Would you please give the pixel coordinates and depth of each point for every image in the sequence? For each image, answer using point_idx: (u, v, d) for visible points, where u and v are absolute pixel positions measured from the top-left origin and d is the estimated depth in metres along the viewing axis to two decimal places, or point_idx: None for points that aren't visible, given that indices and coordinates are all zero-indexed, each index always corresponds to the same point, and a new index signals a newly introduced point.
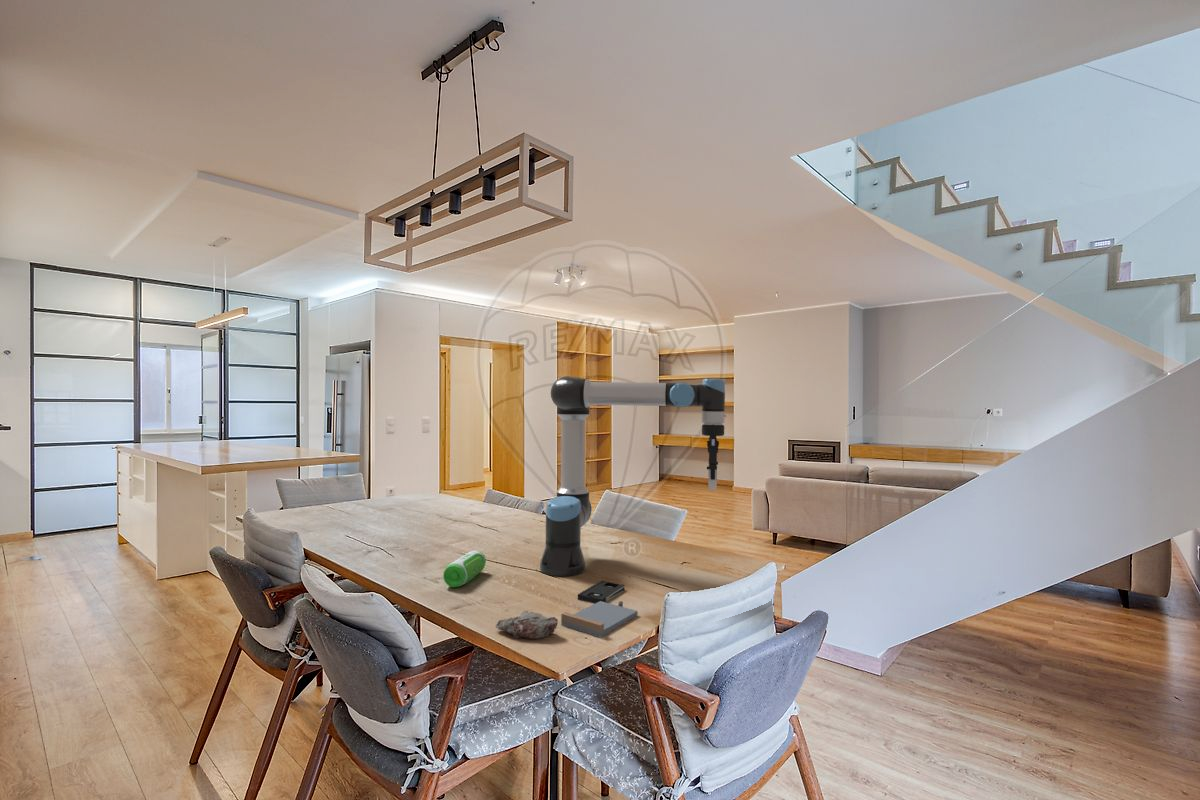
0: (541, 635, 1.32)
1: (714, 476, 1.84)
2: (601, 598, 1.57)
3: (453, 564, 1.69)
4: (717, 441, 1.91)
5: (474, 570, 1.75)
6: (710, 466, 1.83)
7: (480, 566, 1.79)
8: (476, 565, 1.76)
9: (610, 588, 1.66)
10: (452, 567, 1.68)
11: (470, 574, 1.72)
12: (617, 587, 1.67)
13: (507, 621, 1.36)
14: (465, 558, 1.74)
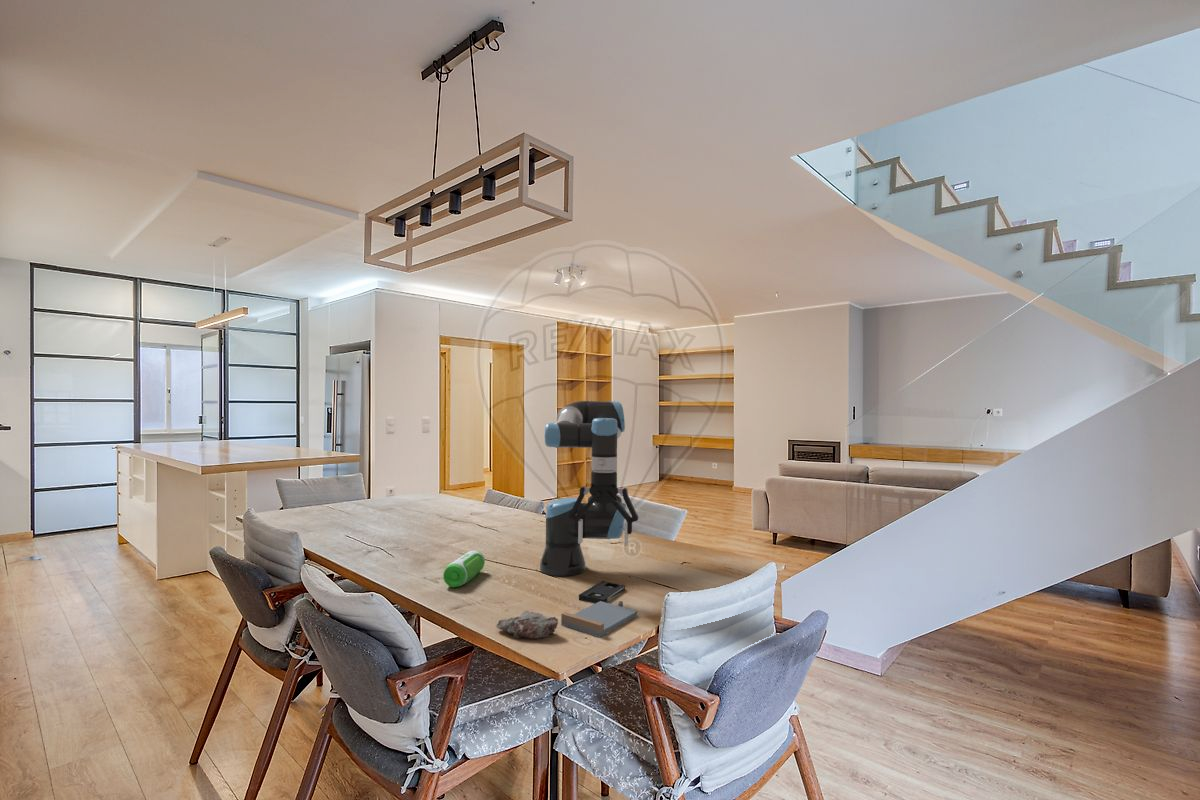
0: (541, 635, 1.32)
1: (575, 527, 1.66)
2: (602, 598, 1.57)
3: (453, 564, 1.69)
4: (598, 491, 1.63)
5: (474, 570, 1.75)
6: None
7: (479, 566, 1.79)
8: (475, 565, 1.77)
9: (611, 588, 1.65)
10: (452, 567, 1.68)
11: (470, 574, 1.72)
12: (618, 587, 1.67)
13: (507, 621, 1.36)
14: (465, 558, 1.75)
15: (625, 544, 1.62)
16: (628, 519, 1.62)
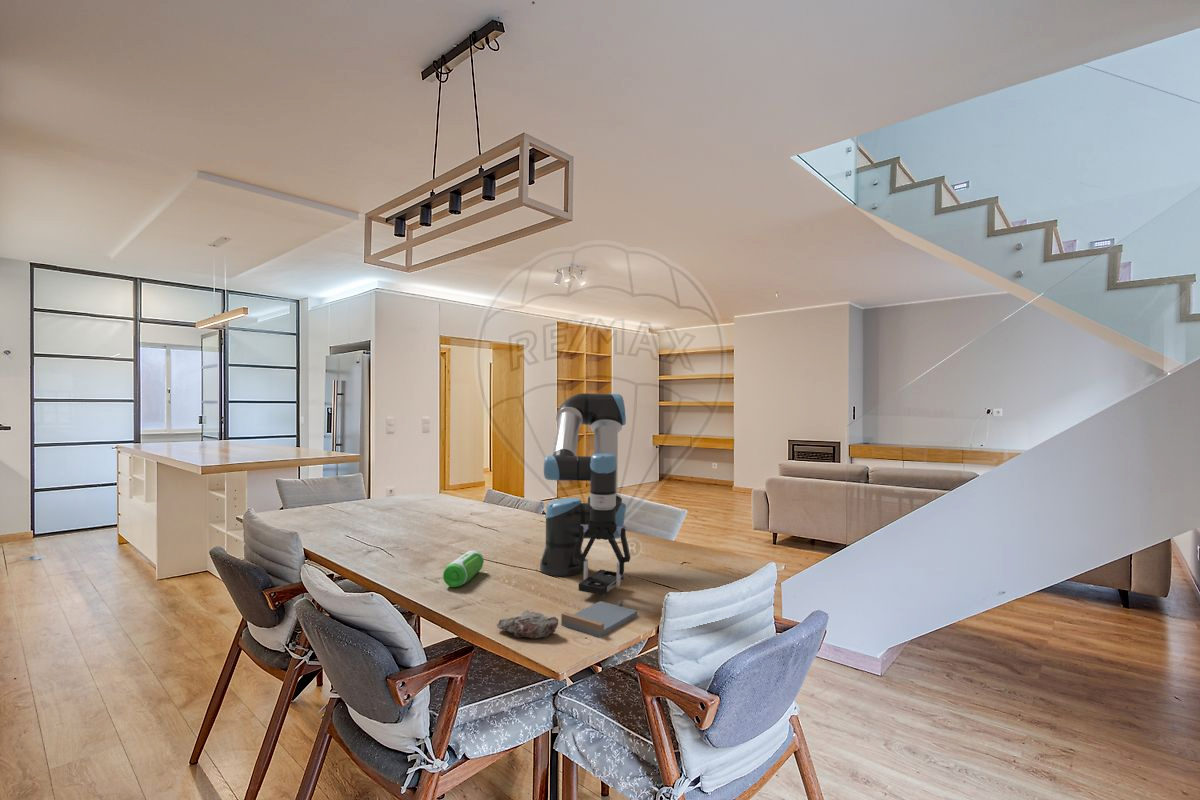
0: (541, 635, 1.32)
1: (580, 567, 1.66)
2: (602, 587, 1.58)
3: (453, 564, 1.69)
4: (596, 528, 1.64)
5: (473, 570, 1.75)
6: None
7: (478, 566, 1.79)
8: (475, 564, 1.77)
9: (609, 577, 1.66)
10: (452, 567, 1.68)
11: (469, 574, 1.72)
12: None
13: (508, 621, 1.36)
14: (464, 558, 1.75)
15: (617, 584, 1.63)
16: (620, 559, 1.63)
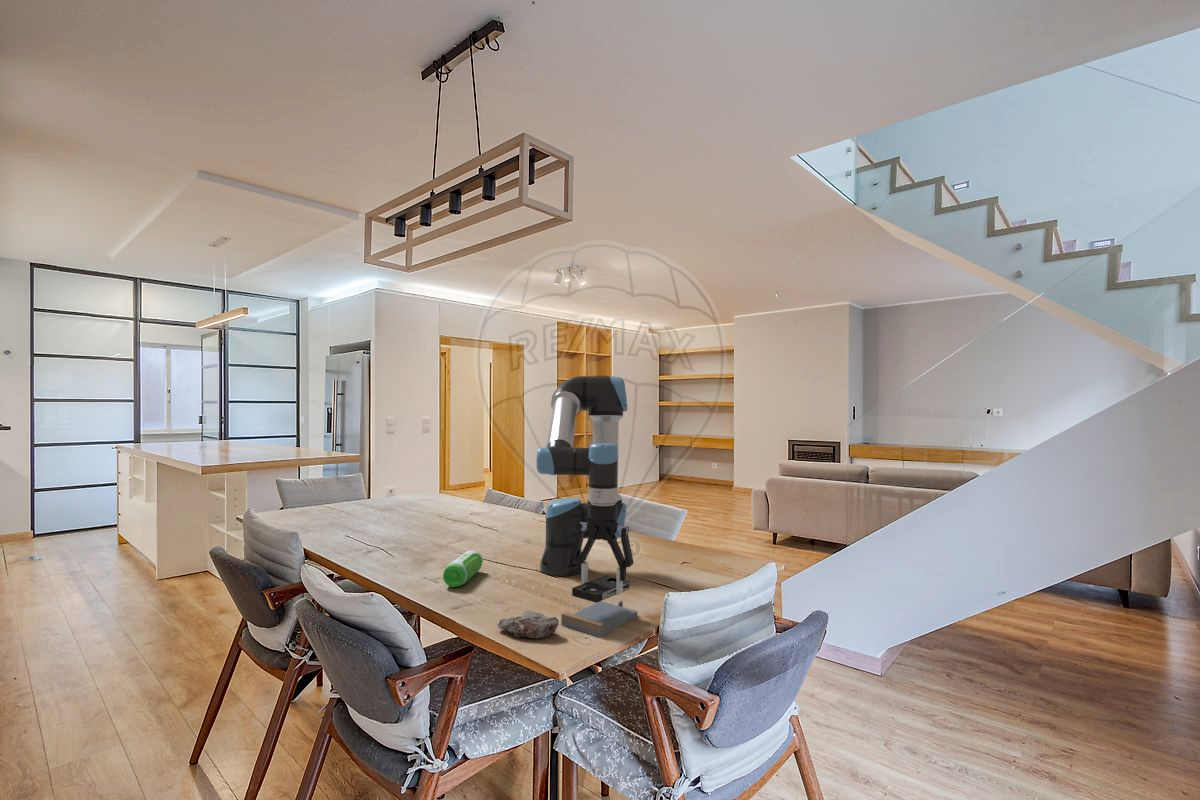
0: (542, 635, 1.32)
1: (578, 570, 1.48)
2: (596, 593, 1.39)
3: (453, 564, 1.69)
4: (594, 526, 1.45)
5: (473, 570, 1.75)
6: None
7: (477, 566, 1.79)
8: (474, 564, 1.77)
9: (611, 584, 1.46)
10: (452, 567, 1.68)
11: (469, 574, 1.72)
12: None
13: (508, 621, 1.37)
14: (464, 558, 1.75)
15: (617, 592, 1.43)
16: (621, 564, 1.43)
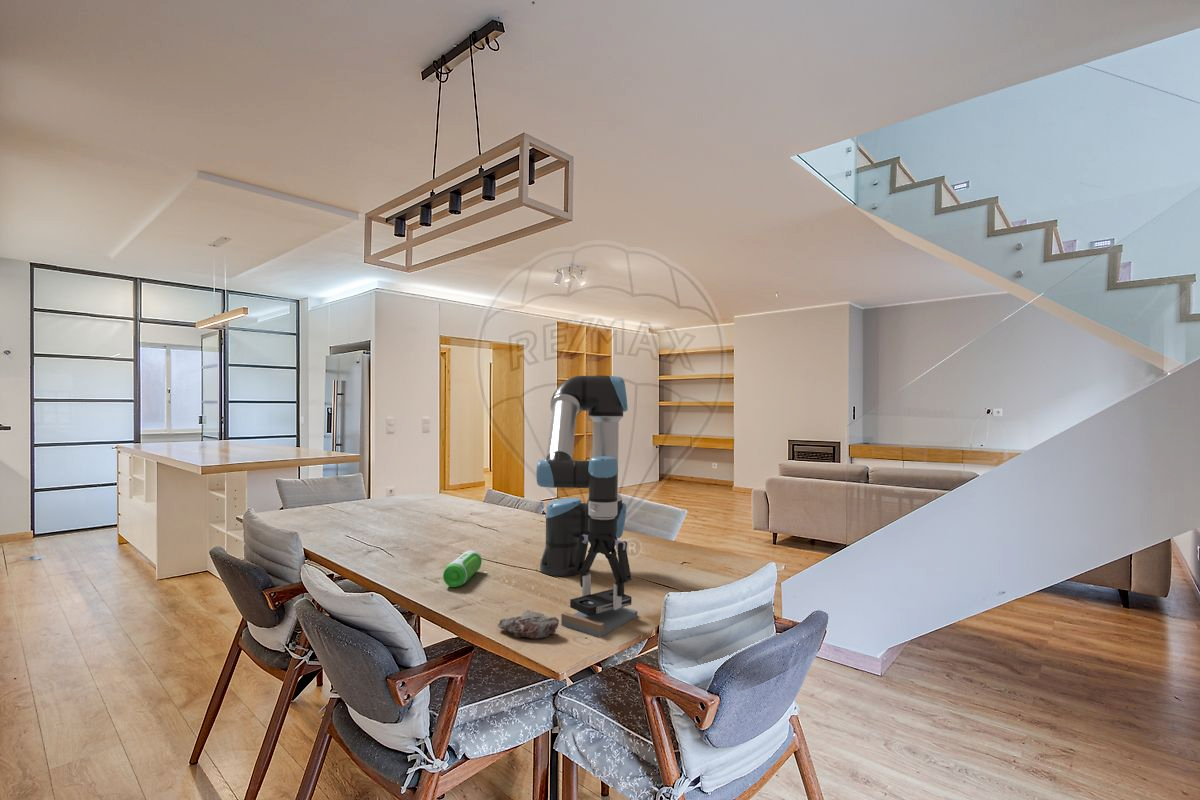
0: (542, 635, 1.32)
1: (580, 582, 1.49)
2: (590, 607, 1.39)
3: (453, 564, 1.69)
4: (594, 539, 1.45)
5: (472, 570, 1.75)
6: None
7: (477, 566, 1.79)
8: (474, 564, 1.77)
9: (611, 598, 1.46)
10: (452, 567, 1.68)
11: (469, 574, 1.72)
12: None
13: (508, 621, 1.37)
14: (463, 558, 1.75)
15: (614, 607, 1.42)
16: (617, 579, 1.41)
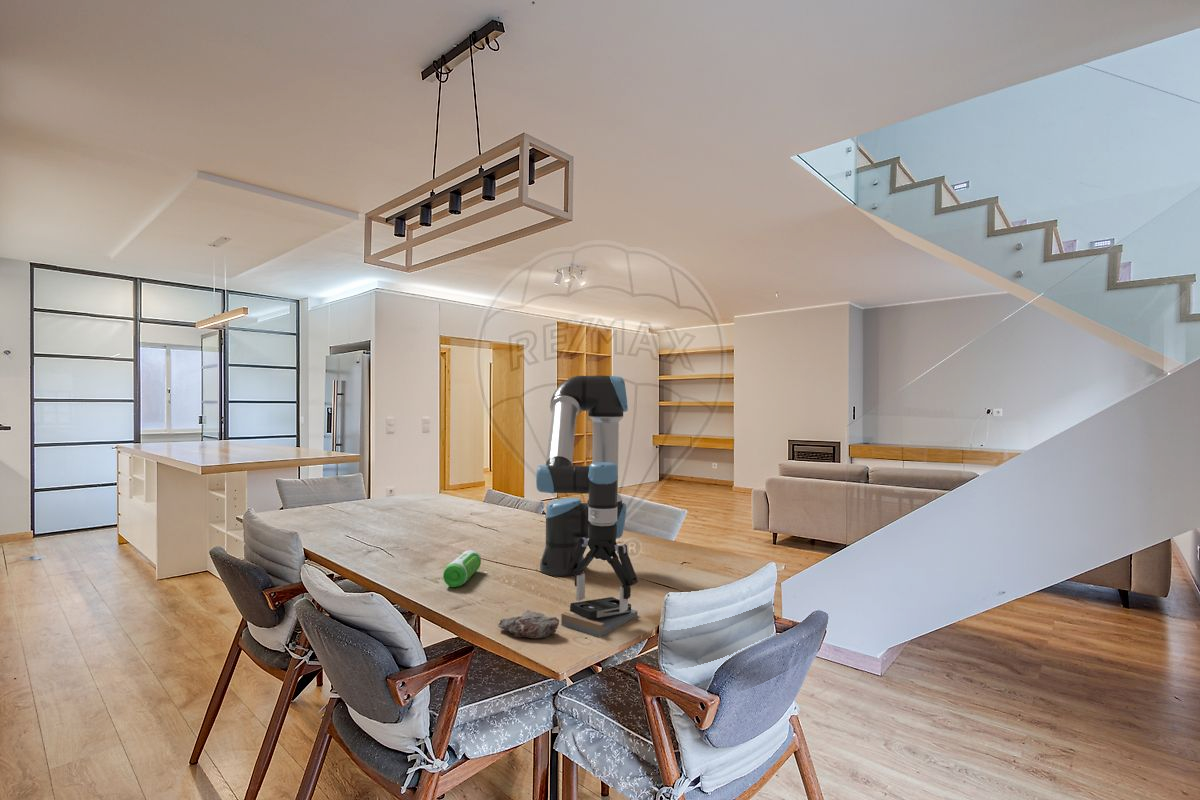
0: (542, 635, 1.32)
1: (575, 582, 1.50)
2: (590, 610, 1.39)
3: (453, 564, 1.69)
4: (594, 545, 1.45)
5: (472, 569, 1.75)
6: None
7: (476, 565, 1.79)
8: (474, 564, 1.77)
9: (611, 604, 1.46)
10: (452, 567, 1.68)
11: (469, 573, 1.72)
12: None
13: (509, 620, 1.37)
14: (463, 558, 1.75)
15: (620, 610, 1.41)
16: (623, 582, 1.40)
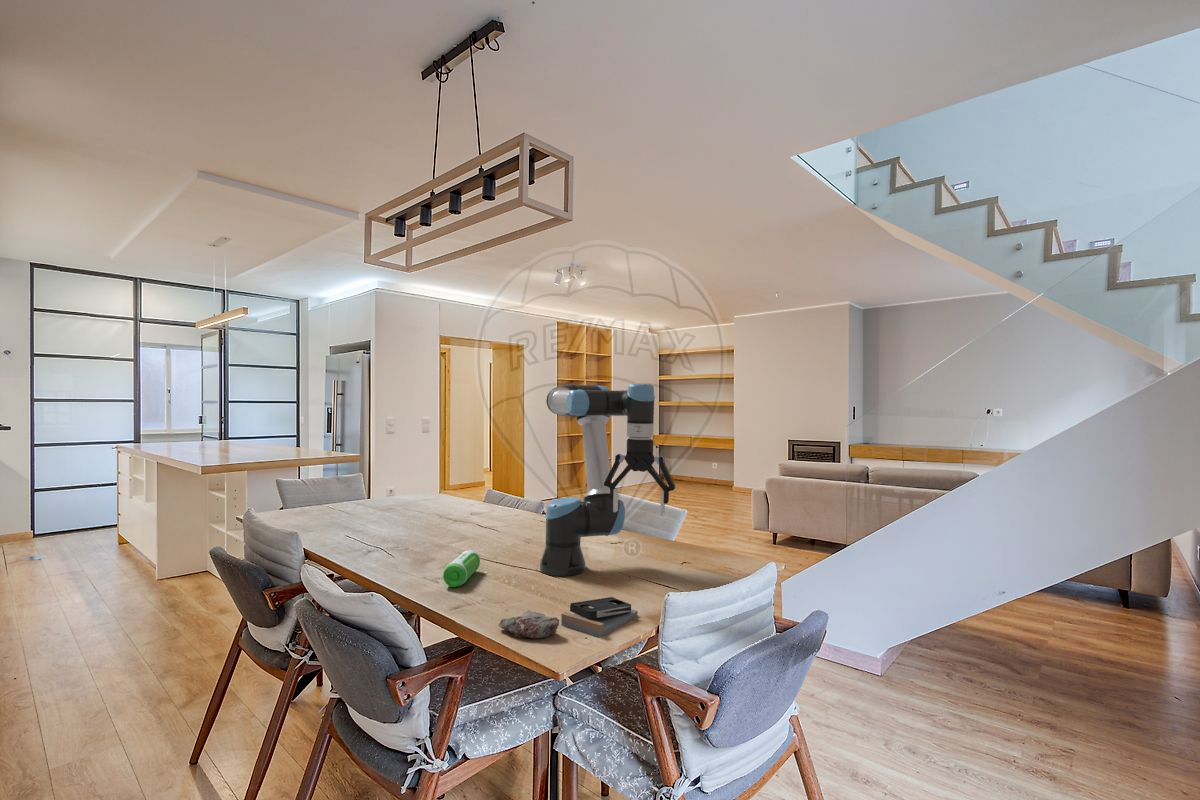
0: (542, 635, 1.32)
1: (610, 495, 1.62)
2: (590, 610, 1.39)
3: (453, 564, 1.69)
4: (633, 459, 1.59)
5: (472, 569, 1.75)
6: None
7: (476, 565, 1.80)
8: (473, 564, 1.77)
9: (611, 604, 1.46)
10: (452, 567, 1.68)
11: (469, 573, 1.72)
12: (621, 605, 1.46)
13: (509, 620, 1.37)
14: (463, 558, 1.75)
15: (661, 514, 1.57)
16: (664, 488, 1.57)
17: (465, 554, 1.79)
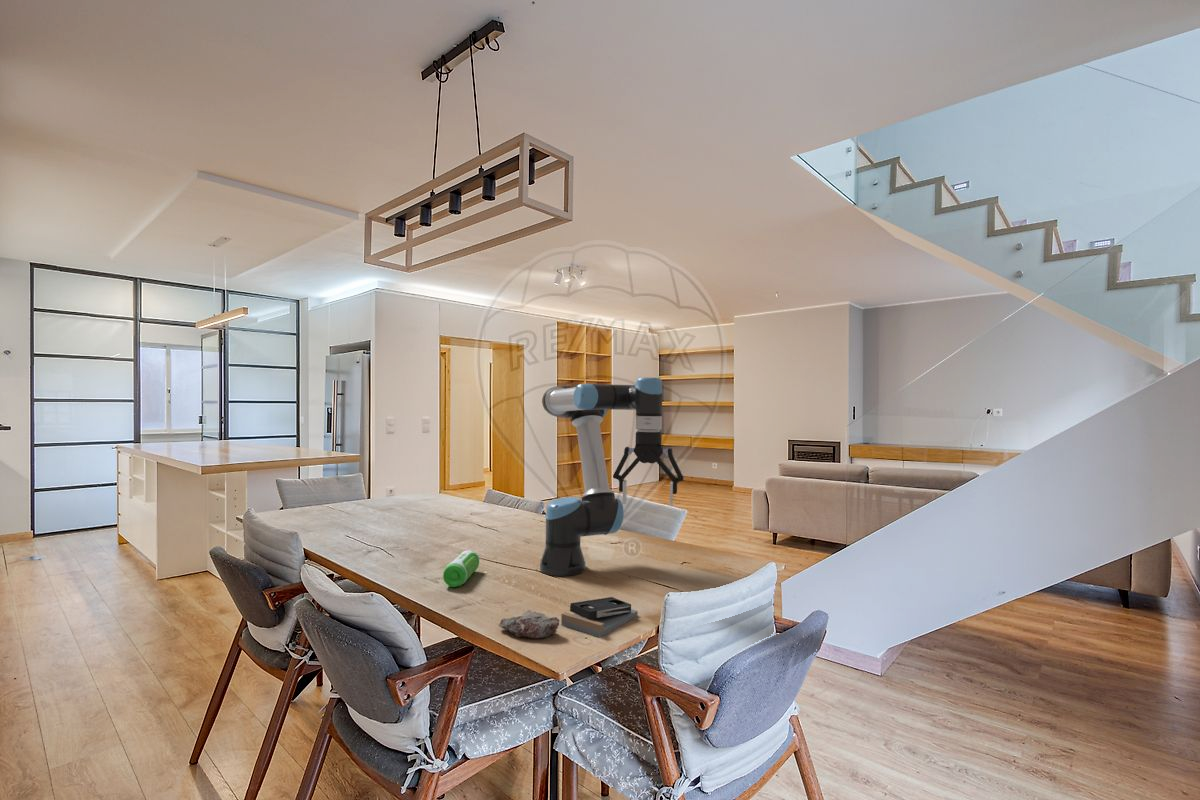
0: (542, 635, 1.32)
1: (619, 488, 1.64)
2: (590, 610, 1.39)
3: (453, 564, 1.69)
4: (643, 451, 1.62)
5: (471, 569, 1.75)
6: None
7: (475, 565, 1.80)
8: (473, 564, 1.77)
9: (611, 604, 1.46)
10: (452, 567, 1.68)
11: (469, 573, 1.73)
12: (621, 605, 1.46)
13: (509, 620, 1.37)
14: (462, 558, 1.75)
15: (670, 504, 1.61)
16: (673, 479, 1.61)
17: (464, 554, 1.79)
